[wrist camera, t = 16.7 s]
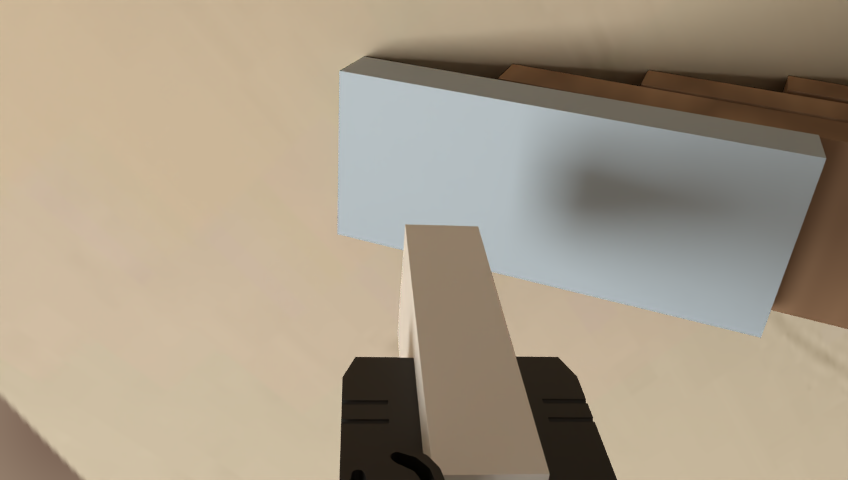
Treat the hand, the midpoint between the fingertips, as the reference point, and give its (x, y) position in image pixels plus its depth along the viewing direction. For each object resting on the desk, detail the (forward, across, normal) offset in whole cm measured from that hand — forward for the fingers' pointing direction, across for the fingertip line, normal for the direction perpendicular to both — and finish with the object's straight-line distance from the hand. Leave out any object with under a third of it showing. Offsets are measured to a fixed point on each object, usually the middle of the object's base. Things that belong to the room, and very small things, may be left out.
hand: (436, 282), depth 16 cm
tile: (+7, -2, 0) cm, 7 cm away
